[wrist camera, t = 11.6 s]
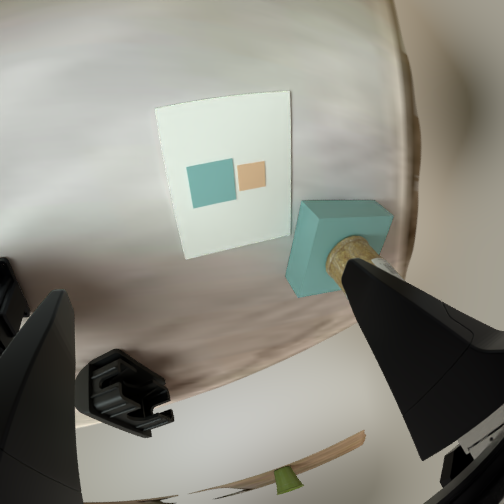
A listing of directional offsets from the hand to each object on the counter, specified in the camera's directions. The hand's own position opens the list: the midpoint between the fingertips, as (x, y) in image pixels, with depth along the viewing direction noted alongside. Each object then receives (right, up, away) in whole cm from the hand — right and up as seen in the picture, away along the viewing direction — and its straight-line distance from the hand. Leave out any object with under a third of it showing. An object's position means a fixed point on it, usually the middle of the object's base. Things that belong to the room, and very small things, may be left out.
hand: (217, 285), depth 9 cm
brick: (+8, +2, +19) cm, 21 cm away
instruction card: (0, +6, +12) cm, 14 cm away
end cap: (-14, -13, +22) cm, 29 cm away
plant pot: (+13, -89, +90) cm, 127 cm away
